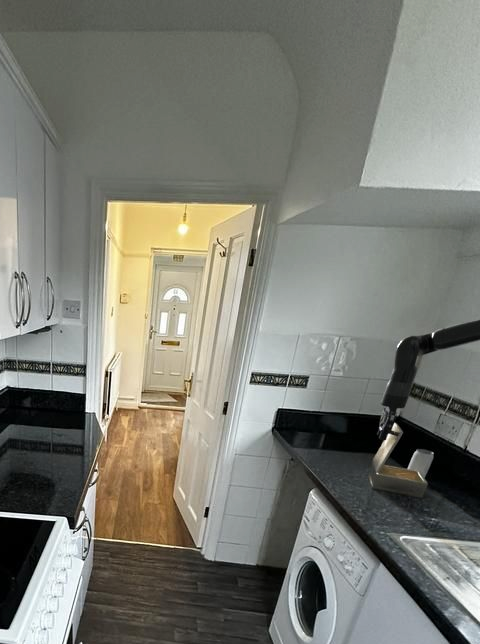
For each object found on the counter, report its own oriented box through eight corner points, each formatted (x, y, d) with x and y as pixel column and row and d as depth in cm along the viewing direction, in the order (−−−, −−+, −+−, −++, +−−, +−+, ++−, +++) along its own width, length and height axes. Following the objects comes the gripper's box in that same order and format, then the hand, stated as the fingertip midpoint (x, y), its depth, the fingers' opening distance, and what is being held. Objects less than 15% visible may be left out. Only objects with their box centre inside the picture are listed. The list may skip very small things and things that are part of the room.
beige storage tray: (414, 485, 163) (420, 471, 161) (422, 498, 152) (428, 483, 149) (368, 476, 170) (372, 462, 167) (371, 488, 158) (376, 474, 156)
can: (407, 474, 174) (418, 447, 169) (425, 479, 169) (437, 452, 164) (402, 477, 170) (413, 450, 165) (420, 483, 166) (432, 455, 160)
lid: (397, 423, 159) (381, 418, 161) (403, 432, 147) (386, 427, 149) (374, 462, 167) (359, 457, 169) (378, 473, 155) (362, 467, 157)
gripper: (412, 398, 143) (395, 445, 150) (405, 391, 155) (389, 435, 162) (387, 395, 146) (371, 441, 153) (382, 389, 158) (367, 431, 164)
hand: (381, 437), depth 157 cm, fingers closed on lid, 5 cm apart
